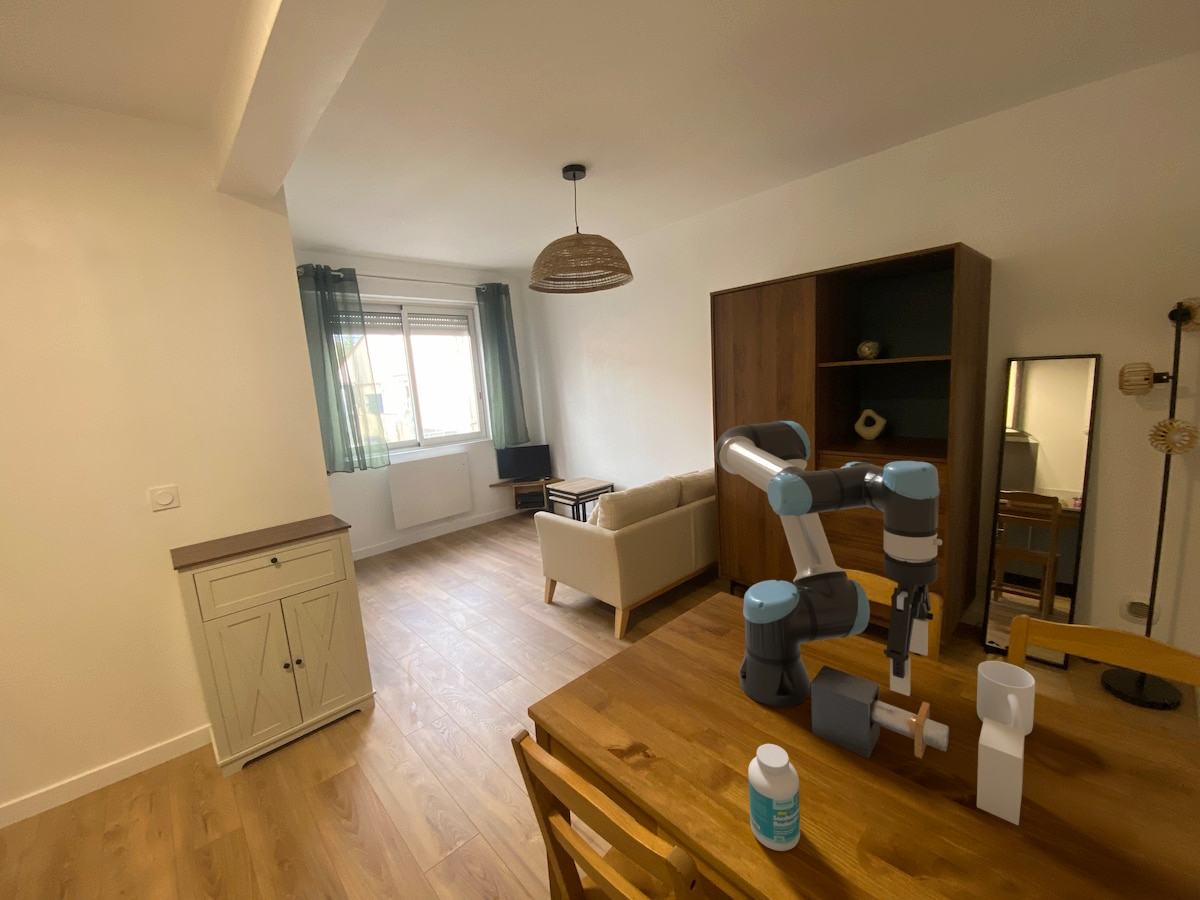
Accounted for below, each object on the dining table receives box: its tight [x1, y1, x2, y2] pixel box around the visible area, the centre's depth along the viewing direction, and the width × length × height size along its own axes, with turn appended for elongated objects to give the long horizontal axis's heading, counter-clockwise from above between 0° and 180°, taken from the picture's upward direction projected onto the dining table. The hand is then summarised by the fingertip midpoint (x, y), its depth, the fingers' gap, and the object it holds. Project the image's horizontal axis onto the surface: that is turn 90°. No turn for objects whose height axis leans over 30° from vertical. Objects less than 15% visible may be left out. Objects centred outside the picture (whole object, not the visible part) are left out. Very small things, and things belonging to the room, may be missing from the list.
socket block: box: [976, 717, 1026, 826], centre depth 75 cm, size 5×7×12 cm
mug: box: [976, 660, 1036, 736], centre depth 89 cm, size 12×8×10 cm
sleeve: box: [810, 665, 880, 759], centre depth 91 cm, size 10×7×11 cm
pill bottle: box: [747, 743, 801, 852], centre depth 74 cm, size 8×7×14 cm
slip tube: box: [870, 699, 950, 759], centre depth 87 cm, size 20×6×6 cm, turn 46°
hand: (909, 671), depth 82 cm, fingers open, 13 cm apart
